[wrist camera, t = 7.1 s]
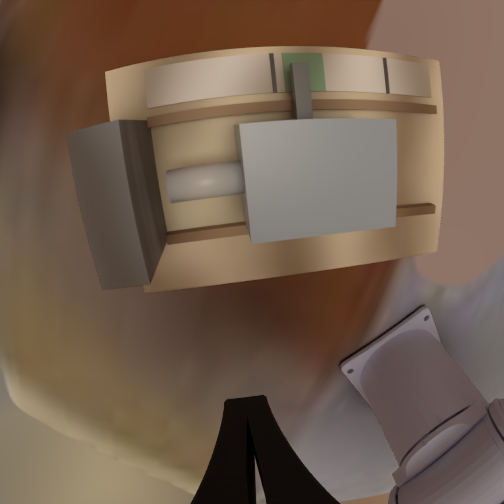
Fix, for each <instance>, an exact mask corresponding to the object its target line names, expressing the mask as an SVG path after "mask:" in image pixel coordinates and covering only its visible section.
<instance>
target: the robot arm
mask: <svg viewBox="0 0 504 504" xmlns="http://www.w3.org/2000/svg"><path fill="white" fill-rule="evenodd" d="M425 316H426V317H425ZM424 317H425V318H424ZM340 368H341V370H342V372H343V373H344V374H345V376H346V377H347V378H348V379H349V381H350V382H351V383H352V384H353V385H354V387H355V388H356V389H357V390H358V392H359V393H360V394H361V395H362V397H363V398H364V399H365V400H366V401H367V403H368V404H369V405H370V406H371V408H372V409H373V411H374V413H375V415H376V417H377V419H378V421H379V424H380V426H381V428H382V430H383V432H384V434H385V436H386V438H387V440H388V442H389V445H390V447H391V449H392V451H393V453H394V455H395V457H396V460H397V462H398V464H399V466H400V467H399V468H398V469H397V470H396V471H395V472H394V473H393V474H392V475H393V477H394V480H395V482H396V484H397V485H395V486H394V487H393V489H392V490H391V492H390V495H389V500H388V504H504V399H498V398H497V399H495V400H493V402H492V403H491V404H490V403H488V402H487V401H486V399H485V398H484V397H483V396H482V394H481V393H480V392H479V390H478V389H477V388H476V387H475V385H474V384H473V383H472V382H471V380H470V379H469V378H468V376H467V375H466V374H465V373H464V372H463V370H462V369H461V368H460V367H459V365H458V364H457V363H456V362H455V361H454V359H453V358H452V357H451V356H450V354H449V353H448V352H447V351H446V350H445V349H444V347H443V346H442V344H441V341H440V338H439V335H438V332H437V329H436V326H435V323H434V320H433V318H432V315H431V312H430V310H429V308H428V307H427V306H423V307H421V308H420V309H419V310H417V311H416V312H415V313H413V314H412V315H411V316H409V317H408V318H407V319H405V320H404V321H403V322H401V323H400V324H398V325H397V326H396V327H394V328H393V329H392V330H390V331H389V332H387V333H386V334H384V335H383V336H382V337H380V338H379V339H377V340H376V341H374V342H373V343H371V344H370V345H368V346H367V347H365V348H364V349H362V350H361V351H359V352H358V353H356V354H355V355H353V356H352V357H350V358H349V359H347V360H345V361H344V362H343V363H342V364H341V365H340ZM349 369H350V370H349ZM254 455H255V457H254ZM255 459H256V463H257V467H258V471H259V475H260V478H261V482H262V486H263V490H264V494H265V497H266V504H340V503H339V502H338V501H337V500H336V499H335V498H334V497H332V496H331V495H330V494H329V493H328V492H327V490H326V489H325V488H324V487H323V486H322V485H321V484H320V483H319V482H318V481H317V480H316V479H315V478H314V476H313V475H312V474H311V473H310V472H309V470H308V469H307V468H306V467H305V465H304V464H303V463H302V461H301V460H300V459H299V457H298V456H297V455H296V453H295V452H294V450H293V449H292V447H291V446H290V444H289V443H288V441H287V440H286V438H285V436H284V435H283V433H282V431H281V430H280V428H279V426H278V424H277V422H276V420H275V418H274V416H273V414H272V412H271V409H270V407H269V404H268V401H267V397H266V396H264V395H259V396H252V397H244V398H235V399H227V400H226V401H225V402H224V411H223V417H222V422H221V427H220V431H219V435H218V438H217V441H216V445H215V448H214V451H213V454H212V457H211V460H210V462H209V465H208V467H207V470H206V473H205V475H204V477H203V480H202V482H201V484H200V486H199V488H198V490H197V492H196V494H195V496H194V498H193V500H192V502H191V504H256V484H255Z"/></svg>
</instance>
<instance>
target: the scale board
mask: <svg viewBox="0 0 504 504" xmlns="http://www.w3.org/2000/svg"><path fill="white" fill-rule="evenodd" d="M292 62H308V68H309V78H310V88H311V99H312V110H313V119H325V118H373V119H396V129H397V205H396V225H395V227H388V228H379V229H371V230H363V231H354V232H346V233H338V234H329V235H321V236H313V237H305V238H297V239H289V240H281V241H273V242H265V243H257V244H251V240H250V237H249V233H248V229H247V226H246V222H245V218H244V215H243V206H242V197H241V194H237V195H229V196H221V197H214V198H206V199H199V200H191V201H184V202H178V203H171V202H170V200H169V197H168V193H167V186H166V171H167V170H171V169H178V168H184V167H191V166H198V165H205V164H213V163H221V162H229V161H238V159H237V150H236V140H235V131H234V124H244V123H255V122H267V121H280V120H295V115H294V104H293V93H292V83H291V74H290V64H291V63H292ZM105 75H106V87H107V97H108V107H109V115H110V122H106V123H102V124H98V125H94V126H91V127H87V128H83V129H80V130H76V131H73V132H69V133H67V140H68V147H69V153H70V159H71V165H72V171H73V176H74V181H75V186H76V191H77V196H78V201H79V205H80V210H81V214H82V218H83V222H84V227H85V231H86V234H87V238H88V242H89V246H90V249H91V253H92V257H93V260H94V263H95V267H96V270H97V273H98V277H99V280H100V283H101V286H102V289H103V290H107V289H116V288H126V287H134V286H143V288H144V291H145V293H151V292H160V291H169V290H177V289H186V288H194V287H202V286H211V285H219V284H227V283H234V282H242V281H250V280H257V279H265V278H272V277H280V276H287V275H294V274H301V273H308V272H315V271H322V270H329V269H335V268H342V267H349V266H355V265H362V264H368V263H374V262H381V261H387V260H393V259H399V258H405V257H411V256H417V255H423V254H428V253H435V252H437V247H438V239H439V231H440V221H441V210H442V196H443V177H444V117H443V99H442V86H441V76H440V67H439V61H436V60H431V59H426V58H420V57H415V56H410V55H403V54H397V53H389V52H381V51H374V50H364V49H353V48H338V47H315V46H277V47H254V48H239V49H228V50H218V51H209V52H201V53H194V54H187V55H181V56H175V57H169V58H164V59H158V60H153V61H148V62H144V63H139V64H135V65H131V66H126V67H122V68H118V69H114V70H111V71H107V72H105Z"/></svg>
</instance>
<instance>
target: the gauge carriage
mask: <svg viewBox="0 0 504 504" xmlns="http://www.w3.org/2000/svg"><path fill="white" fill-rule="evenodd" d="M290 74H291V83H292V93H293V104H294V115H295V120H280V121H267V122H255V123H244V124H234V131H235V140H236V150H237V159H238V161H229V162H221V163H213V164H205V165H198V166H191V167H184V168H178V169H171V170H167V171H166V186H167V193H168V197H169V200H170V202H171V203H178V202H184V201H191V200H199V199H206V198H214V197H221V196H229V195H237V194H241V197H242V206H243V215H244V218H245V222H246V226H247V229H248V233H249V237H250V240H251V244H257V243H265V242H273V241H281V240H289V239H297V238H305V237H313V236H321V235H329V234H338V233H346V232H354V231H363V230H371V229H379V228H388V227H395V225H396V205H397V129H396V119H373V118H325V119H313V110H312V99H311V88H310V78H309V68H308V62H292V63H291V64H290Z"/></svg>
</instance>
